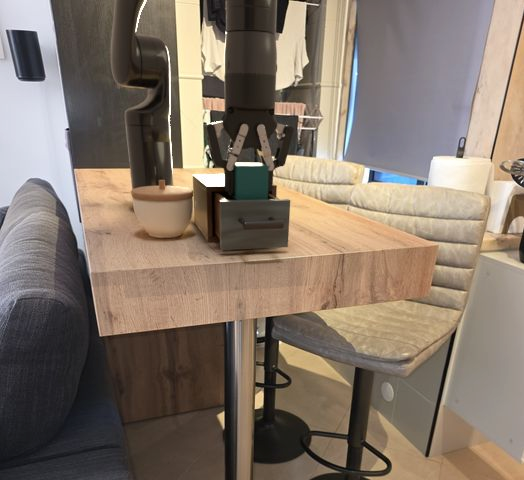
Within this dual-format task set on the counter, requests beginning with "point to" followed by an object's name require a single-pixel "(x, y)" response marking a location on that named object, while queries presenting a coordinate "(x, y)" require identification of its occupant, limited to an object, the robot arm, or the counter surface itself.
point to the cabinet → (208, 201)
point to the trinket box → (163, 209)
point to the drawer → (250, 222)
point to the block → (251, 181)
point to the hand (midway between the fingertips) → (248, 194)
